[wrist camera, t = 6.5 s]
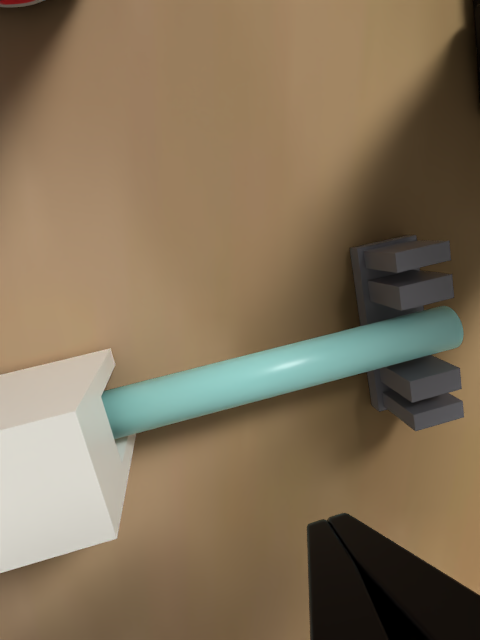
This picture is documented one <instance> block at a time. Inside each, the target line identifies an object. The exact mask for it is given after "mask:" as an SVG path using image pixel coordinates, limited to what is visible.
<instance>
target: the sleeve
mask: <svg viewBox="0 0 480 640" xmlns="http://www.w3.org/2000/svg"><path fill="white" fill-rule="evenodd" d="M114 367H115V362H114V358H113V355H112V351H111V348H110V349H106V350H102V351H98V352H93V353H89V354H85V355H81V356H77V357H73V358H68V359H64V360H60V361H56V362H52V363H48V364H43V365H39V366H35V367H31V368H27V369H23V370H18V371H14V372H10V373H6V374H2V375H0V573H3V572H6V571H9V570H13V569H16V568H19V567H23V566H26V565H30V564H33V563H36V562H40V561H43V560H46V559H50V558H53V557H56V556H60V555H63V554H67V553H70V552H73V551H77V550H80V549H83V548H87V547H90V546H94V545H97V544H100V543H104V542H107V541H110V540H114V539H117V536H118V531H119V525H120V520H121V514H122V509H123V503H124V498H125V492H126V487H127V482H128V476H129V471H130V465H131V460H132V454H133V449H134V443H135V438H136V434H132V435H129V436H125V437H121V438H117V439H114V437H113V433H112V430H111V427H110V424H109V420H108V417H107V414H106V411H105V408H104V404H103V401H102V398H101V396H102V394H103V391H104V389H105V387H106V385H107V382H108V380H109V378H110V376H111V374H112V371H113V369H114Z"/></svg>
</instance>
